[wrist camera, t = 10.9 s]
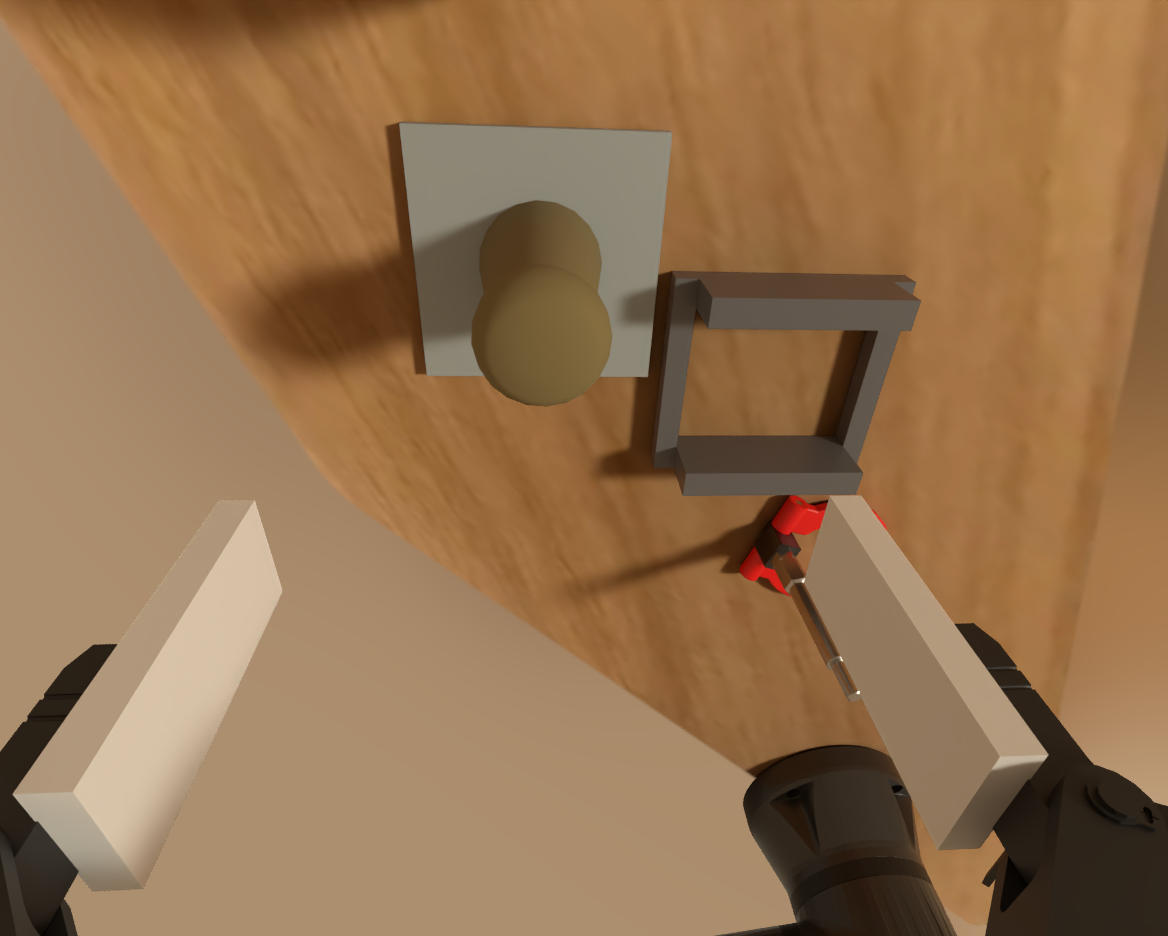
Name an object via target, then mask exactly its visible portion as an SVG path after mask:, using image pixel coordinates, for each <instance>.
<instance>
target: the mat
mask: <svg viewBox="0 0 1168 936" xmlns="http://www.w3.org/2000/svg"><path fill="white" fill-rule="evenodd" d="M399 127H400V136H401V145H402V154H403V163H404V172H405V181H406V190H407V200H408V209H409V218H410V227H411V236H412V245H413V254H414V263H415V272H416V281H417V290H418V300H419V309H420V318H421V327H422V336H423V345H424V354H425V363H426V372H427V376H484V374H483V373H482V372H481V370H480V369H479V366H478V364H477V361H476V357H475V354H474V351H473V348H472V345H471V337H472V321H473V317H474V315H475V312H476V309H477V307H478V304H479V302H480V299H481V297H482V296H483V295H484V291H483V286H482V280H481V275H480V270H479V262H480V247H481V245H482V242H483V239H484V237H485V234H486V231H487V230H488V228H489V227H490V226H491V225H492V223H493V222H494V221H495V220H496V218H497V217H498V216H499V215H500V214H502V213H503V212H505V211H507V210H508V209H510V208H511V207H513V206H515V205H516V204H520V203H525V202H530V201H534V200H540V201H548V202H556V203H559V204H561V205H563V206H565V207H567V208H569V209H571V210H573V211H575V212H576V213H577V214H578V215H579V216H580V217H581V218H582V219H583V220H584V221H585V222H586V223H587V224H588V225H589V226H590V228H591V230H592V231H593V233H594V235H595V237H596V239H597V241H598V243H599V248H600V254H601V260H602V266H601V273H600V280H599V287H598V294H599V296H600V298H601V300H602V302H603V304H604V305H605V307H606V309H607V311H608V315H609V320H610V325H611V331H612V342H611V349H610V355H609V359H608V361H607V363H606V365H605V367H604V369H603V371H602V373H601V375H600V377H648V370H649V360H650V350H651V340H652V330H653V320H654V310H655V300H656V290H657V280H658V270H659V261H660V251H661V241H662V231H663V221H664V211H665V201H666V191H667V181H668V171H669V161H670V151H671V141H672V132H671V131H657V130H628V129H598V128H569V127H539V126H510V125H480V124H451V123H421V122H400V123H399Z"/></svg>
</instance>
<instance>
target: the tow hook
mask: <svg viewBox="0 0 1168 936" xmlns="http://www.w3.org/2000/svg"><path fill="white" fill-rule="evenodd" d="M827 504H828V503H823V504H819V505H815V506H814V505H810V504H807V503H806V502H805V501H804V500H803V499H801V498H799V497H797V496H794V495H791V496H789V498H788V499H787V501H786V502H785V503H784V505H783V506H782V508H781V509H780V511H779V512H778V513H777V515H776V516H775V518H774V519H773V520H772V521H770V522H769V524H768V525H767V526H766V528H765V529H764V531H763V532H762V534H761V535H760V536H759V538H758V539H757V541H756V542H755V546H754V548H753V549H752V551H751V552H750V554H749V555H748V556H747V558H746V559H745V561H744V562H743V564H742V565H741V566H740V568H739V571H740V573H741V574H742V575H743V576H744V577H745V578H746V579H748V580H751V581H756V580H757V579H758V577H763V578H767V579H769V581H770V583H771V584H772V585H773V586H774V587H775V588H776V589H777V590H778V591H779V592H782V593H784V594H786V595H788V596H791V597H792V598H793V600H794V602H795V604H796V606H797V608H798V610H799V612H800V614H801V616H802V618H803V620H804V622H805V624H806V626H807V628H808V630H809V632H810V634H811V636H812V638H813V640H814V642H815V644H816V646H817V648H818V650H819V652H820V654H821V656H822V658H823V660H824V662H825V664H826V666H827V668H828V669H830V670H833V671H834V673H835V675H836V677H837V679H838V681H839V683H840V685H841V687H842V689H843V691H844V693H845V695H846V697H847V699H848V700H849V701H857V700H859V699H861V696H860V694H859V692H858V690H857V688H856V686H855V684H854V682H853V680H852V678H851V676H850V674H849V672H848V670H847V668H846V666H845V664H844V662H843V660H842V658H841V656H840V654H839V652H838V650H837V648H836V646H835V644H834V642H833V640H832V638H831V636H830V634H829V632H828V630H827V628H826V626H825V624H824V622H823V620H822V618H821V616H820V614H819V612H818V610H817V608H816V606H815V604H814V602H813V600H812V598H811V596H810V594H809V592H808V590H807V588H806V586H805V584H804V579H805V576H806V574H805V572H804V570H803V569H802V567H801V565H800V563H799V561H798V559H797V558H796V556H797V555H798V553H799V552H800V551H801V548H800V547H799V545H798V543H797V541H796V539H795V538H794V536H793V534H792V532H794V533H798V534H802V535H806V534H809V533H811V532H812V531H815V530H817V529H819V528H820V527H821V523H822V520H823V517H824V514H825V510H826V507H827ZM871 510H872V509H871ZM872 511H873V513H874V514H875V515H876V517H877V518H878V519H879V521H880V522H881V524H882V525H883V526H884V528H885V529H886V525H885V524H884V523H883V521H882V520H881V519H880V517H879V516H878V515H877V514H876V512H875V511H874V510H872ZM886 531H887V529H886Z"/></svg>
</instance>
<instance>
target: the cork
mask: <svg viewBox="0 0 1168 936" xmlns="http://www.w3.org/2000/svg"><path fill="white" fill-rule="evenodd" d="M601 266H602V260H601V254H600V248H599V243H598V241H597V239H596V237H595V235H594V233H593V231H592V230H591V228H590V226H589V225H588V224H587V223H586V222H585V221H584V220H583V219H582V218H581V217H580V216H579V215H578V214H577V213H576V212H575V211H573V210H571V209H569V208H567V207H565V206H563V205H561V204H559V203H556V202H548V201H540V200H534V201H530V202H525V203H520V204H516V205H515V206H513V207H511V208H510V209H508V210H507V211H505V212H503V213H502V214H500V215H499V216H498V217H497V218H496V220H495V221H494V222H493V223H492V225H491V226H490V227H489V228H488V230H487V231H486V234H485V237H484V239H483V242H482V245H481V247H480V262H479V270H480V275H481V280H482V286H483V291H484V295H483V296H482V297H481V299H480V302H479V304H478V307H477V309H476V312H475V315H474V317H473V321H472V337H471V345H472V348H473V351H474V354H475V357H476V361H477V364H478V366H479V369H480V370H481V372H482V373H483V374H484V376H485V377H486V379H487V380H488V381H489V383H490V384H491V385H492V386H493V387H494V388H495V389H497V390H498V391H499V392H501V393H502V394H503V395H505V396H506V397H507V398H510V399H513V400H515V401H518V402H520V403H523V404H526V405H535V406H551V405H556V404H561V403H566V402H568V401H570V400H572V399H574V398H576V397H578V396H580V395H582V394H584V393H585V392H586V391H587V390H588V389H589V388H590V387H591V386H592V385H593V384H594V383H595V382H596V381H597V380H598V379H599V377H600V375H601V373H602V371H603V369H604V367H605V365H606V363H607V361H608V359H609V355H610V349H611V342H612V331H611V325H610V320H609V315H608V311H607V309H606V307H605V305H604V304H603V302H602V300H601V298H600V296H599V294H598V287H599V280H600V273H601Z"/></svg>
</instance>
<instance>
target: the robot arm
mask: <svg viewBox="0 0 1168 936" xmlns="http://www.w3.org/2000/svg"><path fill="white" fill-rule="evenodd" d="M804 584H805V586H806V588H807V590H808V592H809V594H810V596H811V598H812V600H813V602H814V604H815V606H816V608H817V610H818V612H819V614H820V616H821V618H822V620H823V622H824V624H825V626H826V628H827V630H828V632H829V634H830V636H831V638H832V640H833V642H834V644H835V646H836V648H837V650H838V652H839V654H840V656H841V658H842V660H843V662H844V664H845V666H846V668H847V670H848V672H849V674H850V676H851V678H852V680H853V682H854V684H855V686H856V688H857V690H858V692H859V694H860V696H861V698H862V700H863V702H864V704H865V706H866V708H867V710H868V712H869V714H870V716H871V718H872V720H873V722H874V724H875V726H876V728H877V730H878V732H879V734H880V736H881V738H882V740H883V742H884V744H885V746H886V748H887V750H888V752H889V754H890V756H891V758H890V757H889V756H887V755H886V754H884V753H881V752H879V751H876V750H873V749H869V748H863V747H854V746H839V747H828V748H822V749H817V750H812V751H808V752H805V753H801V754H798V755H795V756H793V757H790V758H788V759H786V760H783V761H781V762H779V763H777V764H776V765H774V766H772V767H770V768H769V769H767V770H766V771H765V772H763V773H762V774H761V775H760V776H758V777H757V778H756V779H755V780H754V781H753V782H752V784H751V785H750V786H749V788H748V789H747V791H746V793H745V796H744V801H743V806H744V810H745V814H746V818H747V822H748V825H749V829H750V831H751V833H752V836H753V837H754V839H755V841H756V842H757V844H758V845H759V847H760V849H761V850H762V852H763V854H764V855H765V857H766V858H767V860H768V862H769V863H770V865H771V867H772V868H773V870H774V871H775V873H776V875H777V876H778V878H779V880H780V881H781V882H782V884H783V886H784V888H785V889H786V891H787V893H788V896H789V899H790V902H791V905H792V908H793V912H794V915H795V919H796V922H797V923H792V924H786V925H779V926H773V927H767V928H761V929H755V930H748V931H742V932H736V933H729V934H723V935H716V936H957V935H956V933H955V931H954V928H953V926H952V924H951V922H950V920H949V918H948V916H947V914H946V912H945V909H944V907H943V905H942V903H941V901H940V899H939V897H938V895H937V893H936V891H935V889H934V887H933V885H932V883H931V880H930V878H929V876H928V874H927V872H926V869H925V867H924V865H923V863H922V860H921V856H920V850H919V844H918V838H917V831H916V825H915V819H914V812H913V806H912V800H913V802H914V804H915V806H916V808H917V810H918V812H919V814H920V816H921V818H922V820H923V822H924V824H925V826H926V828H927V830H928V832H929V834H930V836H931V838H932V840H933V842H934V844H935V846H936V849H937V850H953V849H974V848H980V847H981V846H982V844H983V843H984V842H985V840H986V839H987V838H988V836H989V835H990V833H991V832H992V831H993V829H994V831H995V833H996V835H997V836H998V838H999V840H1000V841H1001V843H1002V845H1003V847H1004V848H1005V851H1004V852H1003V853H1002V855H1001V856H1000V857H999V859H998V860H997V861H996V862H995V864H994V865H993V866H992V867H991V869H990V870H989V871H988V873H987V874H986V876H985V878H984V880H983V882H982V883H983V884H984V885H986V886H988V887H989V886H990V885H991V884H992V883H993V882H994V880H995V879H996V880H995V885H994V891H993V896H992V902H991V907H990V912H989V918H988V923H987V929H986V934H985V936H1168V806H1165V805H1161V804H1157V803H1155V802H1153V801H1152V799H1151V798H1149V797H1148V796H1147V795H1146V794H1145V793H1144V792H1143V791H1142V790H1141V789H1140V788H1139V787H1137V786H1136V785H1135V784H1134V783H1132V782H1131V781H1129V780H1128V779H1126V778H1124V777H1123V776H1121V775H1119V774H1118V773H1116V772H1114V771H1111V770H1108V769H1105V768H1103V767H1100V766H1097V765H1094V764H1093V763H1092V762H1091V761H1090V760H1089V759H1088V758H1087V756H1086V755H1085V754H1084V752H1083V751H1082V750H1081V748H1080V747H1079V746H1078V745H1077V743H1076V742H1075V741H1074V739H1073V738H1072V737H1071V736H1070V734H1069V733H1068V732H1067V730H1066V729H1065V728H1064V727H1063V725H1062V724H1061V723H1060V721H1059V720H1058V719H1057V718H1056V716H1055V715H1054V714H1053V712H1052V711H1051V710H1050V708H1049V707H1048V706H1047V705H1046V703H1045V702H1044V701H1043V699H1042V698H1041V697H1040V696H1039V694H1038V693H1037V692H1036V690H1032V688H1031V684H1030V683H1029V681H1028V680H1027V679H1026V677H1025V676H1024V675H1023V674H1022V672H1021V671H1018V670H1017V668H1016V667H1017V666H1016V665H1015V663H1014V662H1013V661H1012V659H1011V658H1010V657H1009V656H1008V654H1007V653H1006V652H1005V650H1004V649H1003V648H1002V647H1001V645H1000V644H999V643H998V642H997V641H995V640H994V639H993V638H992V637H990V636H989V635H988V634H987V633H985V632H984V631H983V630H981V629H980V628H979V627H978V626H976V625H975V624H974V623H969V624H954V623H953V622H952V620H951V619H950V618H949V616H948V615H947V614H946V612H945V611H944V609H943V608H942V607H941V605H940V604H939V602H938V601H937V600H936V598H935V597H934V596H933V594H932V593H931V591H930V590H929V589H928V587H927V586H926V584H925V583H924V582H923V580H922V579H921V578H920V576H919V575H918V573H917V572H916V571H915V569H914V568H913V567H912V565H911V564H910V562H909V561H908V560H907V558H906V557H905V555H904V554H903V553H902V551H901V550H900V549H899V547H898V546H897V544H896V543H895V542H894V540H893V539H892V537H891V536H890V535H889V533H888V532H887V531H886V529H885V528H884V526H883V525H882V524H881V522H880V521H879V519H878V518H877V517H876V515H875V514H874V513H873V511H872V510H871V508H870V507H869V506H868V504H867V503H866V501H865V500H864V499H863V497H862V496H830V497H829V500H828V504H827V507H826V510H825V514H824V517H823V520H822V523H821V527H820V530H819V533H818V537H817V540H816V543H815V546H814V550H813V553H812V556H811V560H810V563H809V566H808V569H807V573H806V576H805V579H804ZM281 593H282V588H281V585H280V581H279V578H278V575H277V571H276V568H275V565H274V562H273V559H272V555H271V552H270V549H269V546H268V542H267V539H266V536H265V533H264V529H263V526H262V523H261V519H260V517H259V513H258V510H257V507H256V503H255V500H224V501H223V500H219V501H218V502H217V504H216V505H215V506H214V508H213V509H212V511H211V512H210V514H209V515H208V516H207V518H206V519H205V521H204V522H203V524H202V525H201V527H200V528H199V530H198V531H197V532H196V534H195V535H194V536H193V538H192V539H191V541H190V542H189V544H188V545H187V546H186V548H185V549H184V551H183V552H182V554H181V555H180V557H179V558H178V559H177V561H176V562H175V563H174V565H173V567H172V568H171V569H170V571H169V572H168V574H167V575H166V576H165V578H164V579H163V581H162V582H161V583H160V585H159V586H158V588H157V589H156V591H155V592H154V593H153V595H152V596H151V598H150V599H149V600H148V602H147V603H146V605H145V606H144V608H143V609H142V610H141V612H140V613H139V615H138V616H137V618H136V619H135V620H134V622H133V623H132V625H131V626H130V628H129V629H128V630H127V632H126V633H125V635H124V636H123V638H122V639H121V641H120V642H119V643H118V644H108V645H107V644H105V645H104V644H103V645H93V646H91V647H90V648H89V649H88V650H86V651H85V652H84V653H83V654H81V655H80V656H79V657H77V658H76V659H75V660H74V661H73V662H71V663H70V664H69V665H67V666H66V667H65V668H64V669H63V670H62V671H61V673H60V674H59V675H58V677H57V678H56V679H55V681H54V682H53V683H52V685H51V686H50V687H49V688H48V690H47V691H46V692H45V694H44V699H43V700H39V702H38V703H37V704H36V706H35V707H34V708H33V709H32V711H31V712H30V713H29V715H28V716H27V717H28V719H27V721H26V722H23V723H22V724H21V725H20V727H19V728H18V729H17V731H16V732H15V733H14V734H13V736H12V737H11V738H10V740H9V741H8V742H7V744H6V745H5V746H4V748H3V749H2V750H1V752H0V936H78V935H77V932H76V928H75V924H74V920H73V916H72V913H71V909H70V907H69V905H68V904H67V903H66V901H65V900H64V897H65V895H66V894H67V892H68V890H69V888H70V886H71V885H72V883H73V881H74V879H75V877H76V876H77V874H78V875H79V876H80V877H81V878H82V879H83V881H84V882H85V883H86V884H87V885H88V887H89V888H90V889H91V890H92V891H110V890H128V889H129V890H130V889H143V888H144V886H145V883H146V882H147V879H148V878H149V875H150V873H151V871H152V869H153V867H154V865H155V863H156V860H157V858H158V856H159V854H160V852H161V850H162V848H163V845H164V843H165V841H166V839H167V837H168V834H169V832H170V830H171V828H172V826H173V824H174V822H175V820H176V818H177V816H178V813H179V811H180V809H181V807H182V805H183V802H184V800H185V798H186V796H187V794H188V792H189V790H190V788H191V786H192V783H193V781H194V779H195V777H196V775H197V773H198V771H199V769H200V766H201V764H202V762H203V760H204V758H205V756H206V753H207V751H208V749H209V747H210V745H211V743H212V741H213V738H214V736H215V734H216V732H217V730H218V728H219V726H220V724H221V721H222V719H223V717H224V715H225V713H226V711H227V709H228V706H229V704H230V702H231V700H232V698H233V696H234V694H235V692H236V689H237V687H238V685H239V683H240V681H241V679H242V677H243V674H244V672H245V670H246V668H247V666H248V664H249V662H250V660H251V657H252V655H253V653H254V651H255V649H256V647H257V645H258V642H259V640H260V638H261V636H262V634H263V632H264V630H265V627H266V625H267V623H268V621H269V619H270V617H271V615H272V612H273V610H274V608H275V606H276V604H277V602H278V599H279V597H280V595H281ZM911 798H912V800H911Z"/></svg>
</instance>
